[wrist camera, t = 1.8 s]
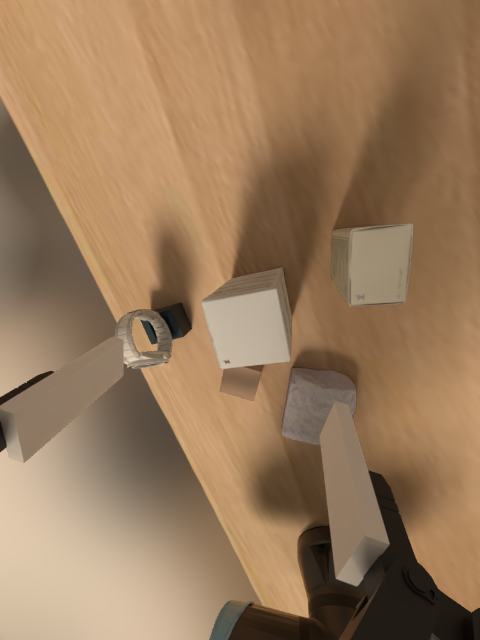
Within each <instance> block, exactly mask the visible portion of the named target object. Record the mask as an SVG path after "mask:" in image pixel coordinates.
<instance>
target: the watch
mask: <svg viewBox="0 0 480 640" xmlns="http://www.w3.org/2000/svg"><path fill="white" fill-rule="evenodd" d="M134 318H135V319H140V320H141V322H142V325H143V327H144V329H145V331H146V333H147V335H148V338H149V340H150V342H151V344H156V343H158V350H157V351H149V352H140V353H139V352H138V350H137V349H136V346H135V344H134V343H132V342H133V337H132V328H131V327H132V321H133V320H134ZM191 329H192V328H191V325H190V323H189V320H188V318H187V315H186V313H185V310H184V308H183V305H182V303H178V304H175V305H171V306H168V307H164V308H161V309H157V310H154V311H153V310H149V309H139V310H135V311H132V312H129V313H127V314H126V315H124V316H123V317H121V319H120V320H119V321H118V323H117V326H116V331H115V337H116V338H119V339H123V340H124V348H123V362H124V363H126V364H128V365H127V367H128V368H146V367H153V366H158V365H162V364H166V363H168V362H169V360H168V359H169V358H171V352H172V339H177V338H181V337H184V336H185V335H186V334H187V333H188V332H189V331H190V330H191ZM126 341H127V342H126Z"/></svg>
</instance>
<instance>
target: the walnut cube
mask: <svg viewBox="0 0 480 640" xmlns="http://www.w3.org/2000/svg"><path fill="white" fill-rule="evenodd" d="M262 368H263V365H253V366H244V367H235V368H227V369H224V372H223V377H222V382H221V387H220V392H223V393H227V394H230V395H233V396H237V397H240V398H243V399H247V400H250V401H253V402H254V398H255V395H256V391H257V387H258V384H259V380H260V376H261V372H262Z"/></svg>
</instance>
